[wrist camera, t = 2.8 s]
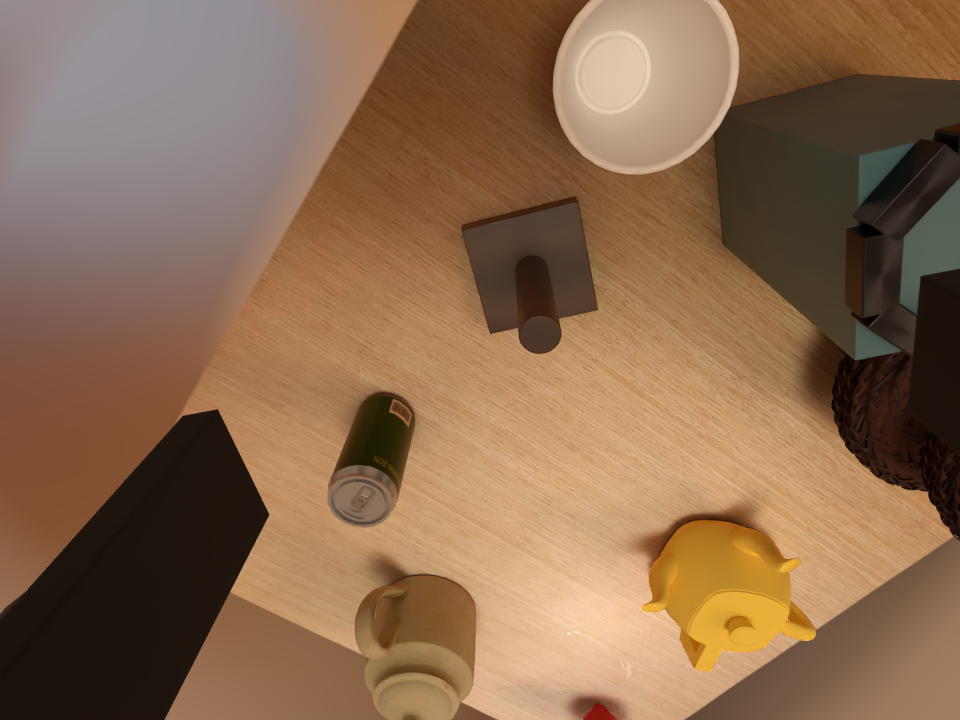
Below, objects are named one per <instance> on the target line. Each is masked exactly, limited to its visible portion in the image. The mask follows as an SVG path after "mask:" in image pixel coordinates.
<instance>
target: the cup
mask: <svg viewBox="0 0 960 720" xmlns="http://www.w3.org/2000/svg"><path fill="white" fill-rule="evenodd" d="M738 73H739V47H738V42H737V38H736V34H735V29H734V27H733V24H732V22H731V20H730V18H729V16H728V14H727V11H726V10H725V9H724V7H723V6H722V5H721V3H720V2H719V1H718V0H590V1H589V2H588V3H587V4H586V5H585V6H584V7H583V8H582V10H581V11H580V12H579V13H578V14H577V15H576V17H575V18H574V20H573V22H572V23H571V25H570V26H569V28H568V30H567V31H566V33H565V35H564V38H563V40H562V43H561V45H560V48H559V50H558V53H557V57H556V62H555V67H554V72H553V97H554V103H555V110H556V113H557V116H558V119H559V122H560V124H561V127H562V129H563V131H564V133H565V134H566V136H567V138H568V139H569V141H570V142H571V144H572V145H573V146H574V147H575V148H576V149H577V150H578V151H579V152H580V153H581V155H582V156H584V157H585V158H587V159H588V160H590V161H591V162H592V163H594V164H595V165H597V166H600V167H602V168H604V169H607V170H609V171H612V172H617V173H622V174H628V175H631V174H648V173H653V172H657V171H662V170H664V169H667V168H669V167H671V166H674V165H676V164H678V163H680V162H682V161H683V160H685V159H686V158H688V157H689V156H691V155H692V154H694V153H695V152H696V151H697V150H698V149H699V148H700V147H702V146H703V145H704V144H705V143H706V142H707V141H708V140H709V139H710V137H711V136H712V135H713V133H714V132H715V131H716V130H717V128H718V127H719V126H720V124H721V122H722V121H723V119H724V117H725V115H726V113H727V111H728V109H729V107H730V105H731V102H732V99H733V96H734V93H735V90H736V86H737V80H738Z"/></svg>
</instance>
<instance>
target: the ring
mask: <svg viewBox="0 0 960 720" xmlns="http://www.w3.org/2000/svg"><path fill="white" fill-rule="evenodd" d="M959 179H960V123H959V124H955V125H951V126H947V127H943V128H939V129H936V130H935V134H934V141H931V140H927V139H922V138H921V139H919V140H918V142H917V143H916V144H915V145H914V146H913V147H912V148H911V149H910V151H909V152H908V153H907V154H906V155H905V156H904V157H903V158H902V160H901V161H900V162H899V163H898V164H897V165H896V166H895V167H894V169H893V170H892V171H891V172H890V173H889V174H888V175H887V176H886V178H885V179H884V180H883V181H882V182H881V183H880V184H879V186H878V187H877V188H876V189H875V190H874V191H873V192H872V193H871V195H870V196H869V197H868V198H867V199H866V200H865V201H864V202H863V204H862V205H861V206H860V207H859V208H858V209H857V210H856V211H855V213H854V214H853V215H852V217H853V218H854V219H856V220H857V221H858V222H860V223H861V224H863V225H860V226H856V227H851V228H847V229H846V263H845V306H846V307H848V308H849V309H850V310H852V311H853V312H852V313H851V314H850V315H851V316H852V317H853V318H854V319H856V320H857V321H858V322H860V323H861V324H862V325H864V326H865V327H866V328H868V329H869V330H871V331H872V332H874V333H875V334H877V335H878V336H880V337H881V338H883V339H884V340H886V341H887V342H889V343H890V344H892V345H893V346H895V347H897V348H898V349H900V350H901V351H903V352H904V353H906V354H907V355H909V356H910V357H912V358H913V349H914V339H915V329H916V318H917V315H916V314H915V313H914V312H912V311H911V310H909V309H908V308H906V307H905V306H903V305H902V304H900V295H901V278H902V262H903V245H904V237H905V236H906V235H907V234H908V233H909V231H910V230H911V229H912V228H913V227H914V226H915V225H916V224H917V223H918V222H919V221H920V220H921V219H922V218H923V217H924V216H925V215H926V214H927V212H928V211H929V210H930V209H931V208H932V207H933V206H934V205H935V204H936V203H937V202H938V201H939V200H940V199H941V198H942V197H943V196H944V194H945V193H946V192H947V191H948V190H949V189H950V188H951V187H952V186H953V185H954V184H955V183H956V182H957V181H958V180H959Z"/></svg>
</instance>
